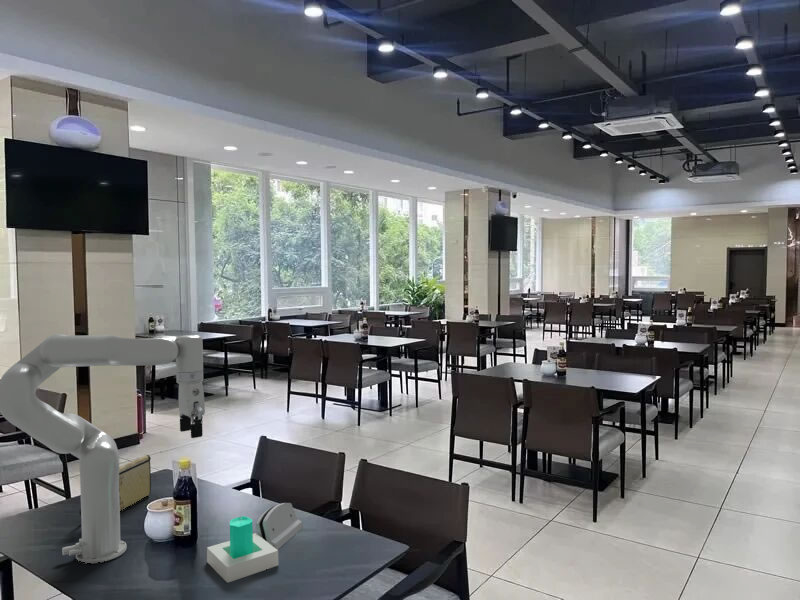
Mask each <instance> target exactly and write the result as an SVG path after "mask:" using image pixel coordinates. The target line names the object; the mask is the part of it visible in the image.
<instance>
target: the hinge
mask: <svg viewBox="0 0 800 600" xmlns="http://www.w3.org/2000/svg"><path fill="white" fill-rule="evenodd" d="M255 527H256V530H257V534H258V535H259V536H260V537H261V538H263V539H264V540H265V541H267V542H268V543H269V544H270V545H272V546H273V547H274V548H276V549H277V550H278V551H279V549H280V548H281V547H283V546H284V545H285V544H286V543H287V542H288V541H289V540H291V538H293V537H294V536H296V534H298V533H299V532H300V531H301V530H302V529H303V528H304V524H303V521H301V520H300V519H298V517H297V513H296V512H295V509H294V507H293V504H292V503H291V502H282V503H279V504H278V503H277V504H275V505H273V506H271V507H269V508H267V509H266V510H265V511H264V512H263V513H262V514H261V515H260V516H259V518H258V520H257V522H256V523H255Z"/></svg>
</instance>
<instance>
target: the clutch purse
mask: <svg viewBox="0 0 800 600" xmlns="http://www.w3.org/2000/svg"><path fill="white" fill-rule="evenodd" d="M151 470H152V469H151V456H150V455H149V454H146V455H144V456H141V457H139V458H137V459H135V460H133V461H131V462H128V463H126V464H124V465H121V466H119V500H120V511H121V510H122V511H124V510H126V509H127V508H126V507H128V506H130V505H131V506H133V505H135V504H137V503H138V502H137V501H139V500H140V501H142V500H143V499H142V498H144V497H146V496H148V495H151V490H152V481H151V477H152V476H151ZM146 498H147V497H146ZM141 499H142V500H141ZM144 499H145V498H144ZM140 501H139V502H140ZM136 502H137V503H136ZM134 503H135V504H134ZM132 504H133V505H132ZM131 506H130V507H131ZM125 508H126V509H125ZM128 508H129V507H128ZM123 509H124V510H123ZM122 511H121V512H122ZM79 516H80V517H81V507H80V509H79Z"/></svg>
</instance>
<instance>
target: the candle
mask: <svg viewBox="0 0 800 600" xmlns="http://www.w3.org/2000/svg"><path fill="white" fill-rule="evenodd" d="M253 524H254V523H253V519H252V518H250V517H249V516H245V515H243V516H242V515H241V516H238V517H235V518H232V519H231V520H230V521H229V541H230V556H231V557H232V558H233V559H236V558H239V557H242V556H245V555H248V554H251V553H253V534H254V533H253V532H254V531H253Z"/></svg>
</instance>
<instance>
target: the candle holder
mask: <svg viewBox="0 0 800 600" xmlns="http://www.w3.org/2000/svg"><path fill="white" fill-rule="evenodd" d="M206 562H207V564H208V565H210V567H212V568H213V570H214V571H215V572H216V573H217V575H219V576H220V577H221V578H222V579H223V580H224V581H225V582H226V583H227V584H228V583H230V582H234V581H237V580H240V579H243V578H245V577H249V576H251V575H255V574H257V573H260V572H263V571H266V569H267V570H269V569H273V568H275V567H278V566H279V549H278V550H277V549H276V548H275V547H274V545H273V546H272V545H270V544H269V543H268V542H267V541H265V540H264V539H263V538H261V537H260V536H259V535H258V533H256V532H255V533H253V553H251V554H248V555H245V556H242V557H239V558H236V559H233V558H232V557H231V556H230V540H228V541H224V542H221V543H218V544H214V545H211V546H208V547H206Z"/></svg>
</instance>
